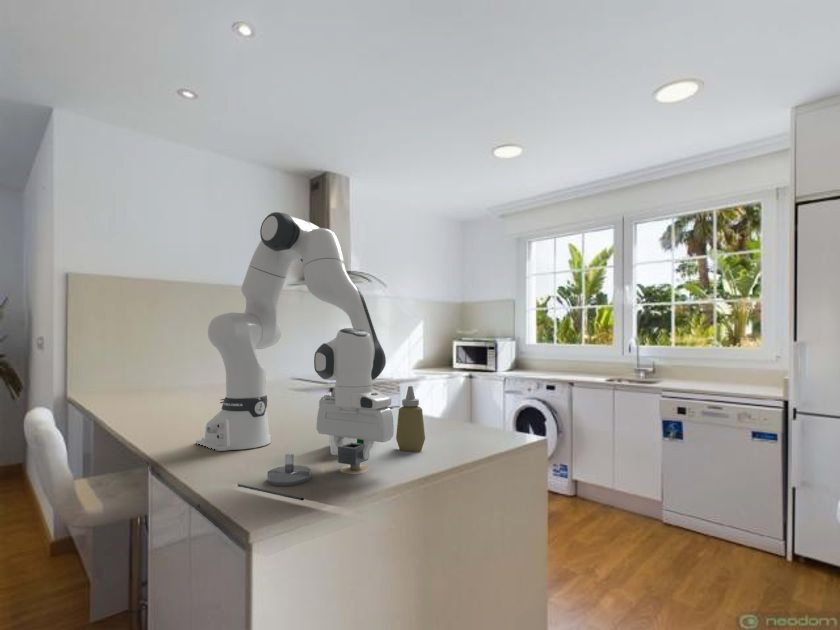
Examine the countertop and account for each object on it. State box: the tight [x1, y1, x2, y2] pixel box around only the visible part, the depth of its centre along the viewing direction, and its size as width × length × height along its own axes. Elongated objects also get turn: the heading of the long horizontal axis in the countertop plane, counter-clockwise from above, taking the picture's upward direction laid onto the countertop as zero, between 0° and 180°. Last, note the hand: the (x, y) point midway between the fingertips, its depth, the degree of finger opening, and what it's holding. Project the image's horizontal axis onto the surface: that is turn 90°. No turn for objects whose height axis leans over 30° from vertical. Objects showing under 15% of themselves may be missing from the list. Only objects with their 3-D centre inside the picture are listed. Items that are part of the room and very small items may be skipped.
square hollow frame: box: [337, 443, 369, 465], centre depth 106 cm, size 5×5×4 cm
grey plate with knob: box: [237, 453, 312, 501], centre depth 98 cm, size 18×12×6 cm, turn 62°
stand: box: [339, 463, 371, 475], centre depth 106 cm, size 7×7×4 cm
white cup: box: [328, 435, 357, 456], centre depth 121 cm, size 8×8×10 cm
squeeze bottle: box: [395, 385, 426, 453], centre depth 125 cm, size 8×8×18 cm
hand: (353, 456), depth 106 cm, fingers closed on square hollow frame, 5 cm apart
